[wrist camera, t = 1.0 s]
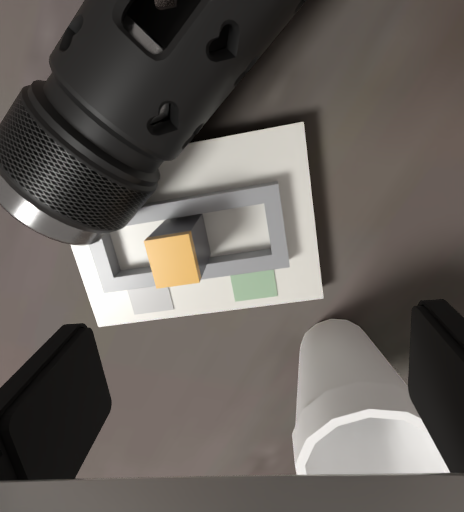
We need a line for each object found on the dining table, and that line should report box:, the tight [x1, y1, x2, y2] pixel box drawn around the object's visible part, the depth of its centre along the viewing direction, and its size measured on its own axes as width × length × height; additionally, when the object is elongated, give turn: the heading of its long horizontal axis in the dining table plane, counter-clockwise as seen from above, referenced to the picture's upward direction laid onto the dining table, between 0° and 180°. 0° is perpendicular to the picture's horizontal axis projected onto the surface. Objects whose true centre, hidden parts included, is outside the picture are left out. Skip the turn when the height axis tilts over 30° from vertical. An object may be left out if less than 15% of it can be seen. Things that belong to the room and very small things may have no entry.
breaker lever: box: [144, 214, 211, 289], centre depth 27 cm, size 3×3×6 cm
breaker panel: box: [71, 122, 323, 327], centre depth 30 cm, size 20×14×4 cm
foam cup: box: [292, 319, 450, 475], centre depth 28 cm, size 10×9×13 cm
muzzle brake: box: [0, 0, 306, 246], centre depth 22 cm, size 10×28×10 cm, turn 138°
